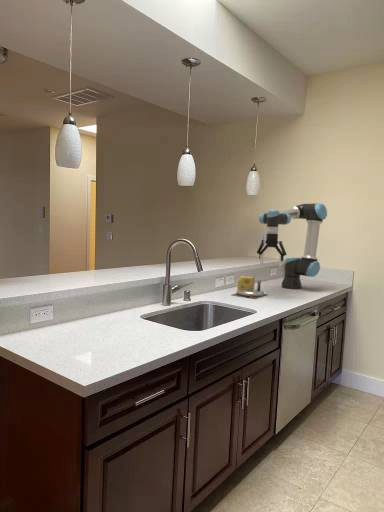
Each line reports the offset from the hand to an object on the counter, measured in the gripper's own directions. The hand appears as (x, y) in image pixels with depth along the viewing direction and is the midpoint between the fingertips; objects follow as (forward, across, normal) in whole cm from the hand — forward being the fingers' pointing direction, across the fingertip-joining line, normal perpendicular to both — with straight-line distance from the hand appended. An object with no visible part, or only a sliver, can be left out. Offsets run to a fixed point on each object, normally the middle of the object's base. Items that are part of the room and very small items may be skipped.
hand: (270, 265), depth 260 cm
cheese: (+22, -22, +10) cm, 32 cm away
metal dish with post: (+21, -12, -6) cm, 25 cm away
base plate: (+21, -12, -6) cm, 25 cm away
